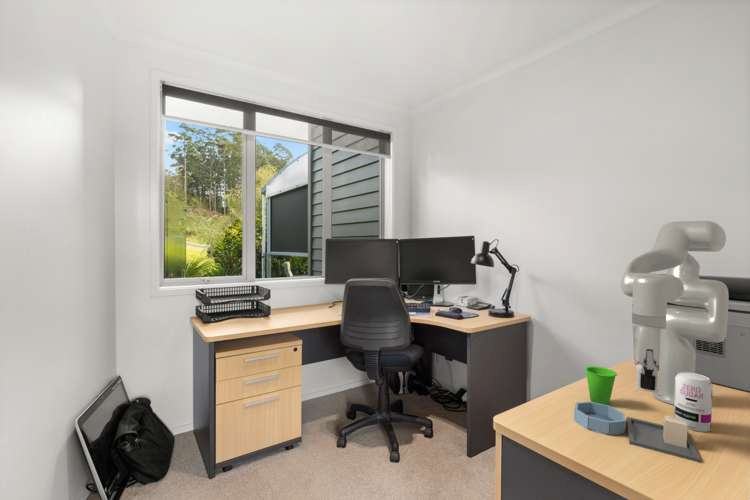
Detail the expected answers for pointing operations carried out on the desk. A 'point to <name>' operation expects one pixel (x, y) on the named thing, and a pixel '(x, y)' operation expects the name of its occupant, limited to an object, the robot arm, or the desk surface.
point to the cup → (600, 384)
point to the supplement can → (693, 400)
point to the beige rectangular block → (675, 431)
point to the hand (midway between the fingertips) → (646, 385)
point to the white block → (639, 371)
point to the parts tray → (657, 439)
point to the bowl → (599, 418)
